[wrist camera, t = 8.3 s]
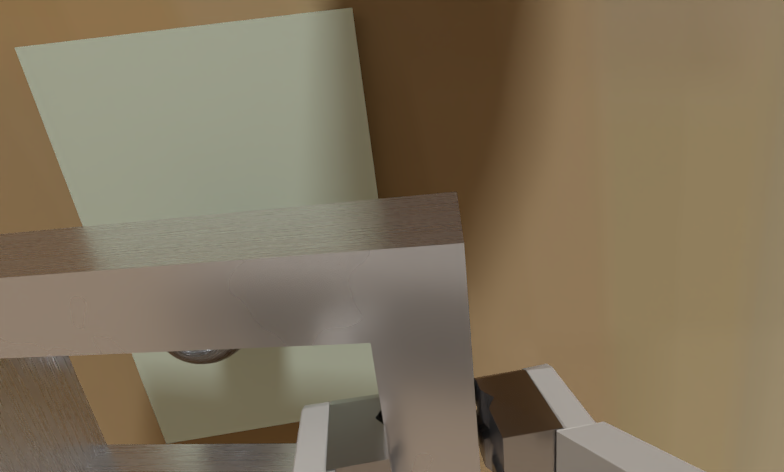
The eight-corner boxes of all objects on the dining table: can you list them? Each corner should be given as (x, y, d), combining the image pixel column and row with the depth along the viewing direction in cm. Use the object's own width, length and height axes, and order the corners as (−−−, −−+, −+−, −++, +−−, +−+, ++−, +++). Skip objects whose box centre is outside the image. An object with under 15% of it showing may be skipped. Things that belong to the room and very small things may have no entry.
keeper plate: (352, 12, 16) (352, 7, 15) (404, 390, 22) (406, 403, 21) (35, 50, 16) (14, 47, 15) (174, 428, 21) (166, 443, 20)
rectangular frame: (456, 191, 8) (463, 243, 6) (478, 486, 11) (491, 623, 8) (-38, 237, 10) (-222, 294, 7) (80, 482, 13) (-23, 594, 10)
